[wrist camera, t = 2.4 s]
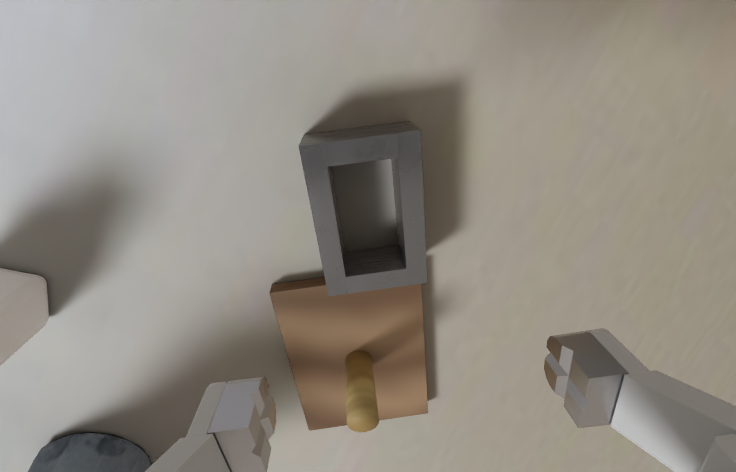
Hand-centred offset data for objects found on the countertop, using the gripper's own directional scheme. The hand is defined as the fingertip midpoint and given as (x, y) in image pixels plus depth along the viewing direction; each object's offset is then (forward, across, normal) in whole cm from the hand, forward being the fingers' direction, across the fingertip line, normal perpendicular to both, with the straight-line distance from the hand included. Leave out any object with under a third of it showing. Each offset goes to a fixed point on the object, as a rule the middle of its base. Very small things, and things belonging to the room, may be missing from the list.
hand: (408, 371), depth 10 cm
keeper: (+13, +2, +12) cm, 18 cm away
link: (+13, 0, 0) cm, 13 cm away
